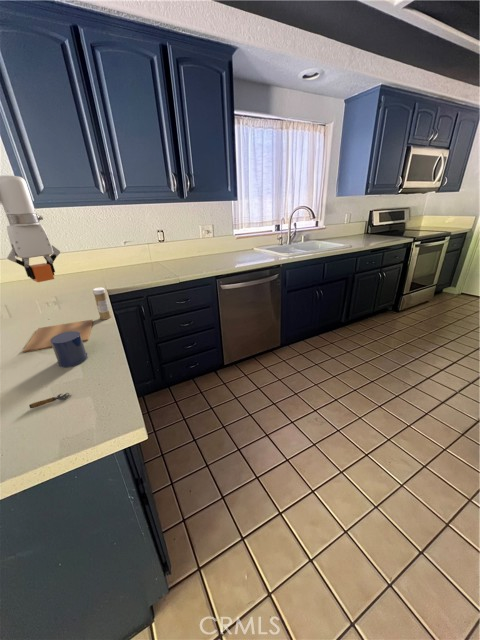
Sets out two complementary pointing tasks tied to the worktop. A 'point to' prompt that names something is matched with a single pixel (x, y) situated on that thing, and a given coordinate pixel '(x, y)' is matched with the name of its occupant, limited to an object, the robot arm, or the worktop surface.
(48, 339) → the wooden cutting board
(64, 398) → the fork
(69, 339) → the navy cup
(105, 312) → the sprinkles bottle
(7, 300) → the worktop surface
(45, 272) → the orange block
